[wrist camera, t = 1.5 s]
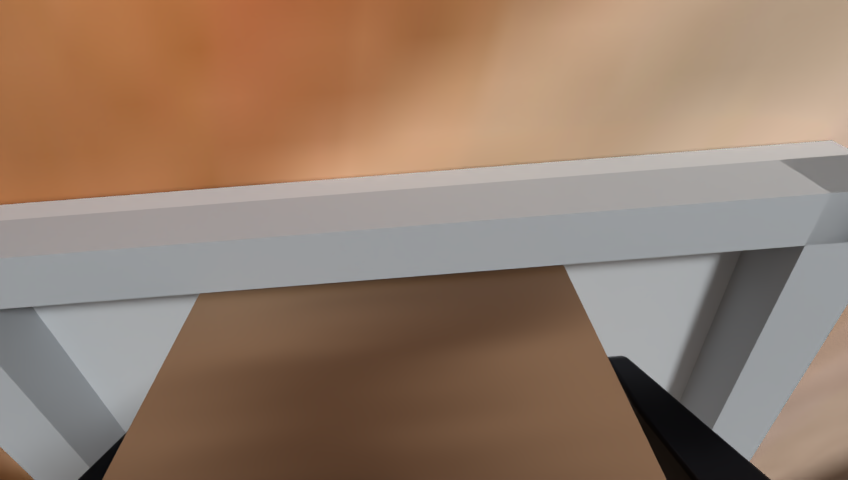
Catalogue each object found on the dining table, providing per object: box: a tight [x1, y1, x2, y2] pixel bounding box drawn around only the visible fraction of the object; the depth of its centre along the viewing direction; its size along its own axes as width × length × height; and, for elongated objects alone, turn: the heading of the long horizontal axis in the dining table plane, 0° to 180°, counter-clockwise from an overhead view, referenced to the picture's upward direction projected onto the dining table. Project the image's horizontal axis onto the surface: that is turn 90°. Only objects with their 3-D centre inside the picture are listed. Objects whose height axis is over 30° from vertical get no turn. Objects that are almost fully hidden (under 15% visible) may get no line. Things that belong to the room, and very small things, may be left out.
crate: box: [102, 265, 666, 480], centre depth 8 cm, size 6×6×5 cm
